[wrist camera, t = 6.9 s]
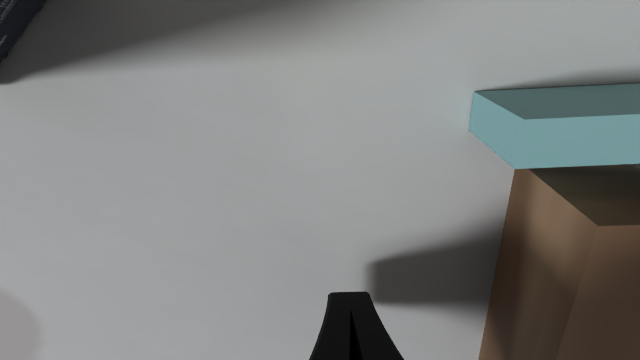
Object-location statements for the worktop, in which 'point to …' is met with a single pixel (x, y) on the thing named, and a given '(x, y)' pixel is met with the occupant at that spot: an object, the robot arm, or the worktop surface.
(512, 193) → the t block
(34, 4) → the small box
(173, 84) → the worktop surface
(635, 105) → the jig
